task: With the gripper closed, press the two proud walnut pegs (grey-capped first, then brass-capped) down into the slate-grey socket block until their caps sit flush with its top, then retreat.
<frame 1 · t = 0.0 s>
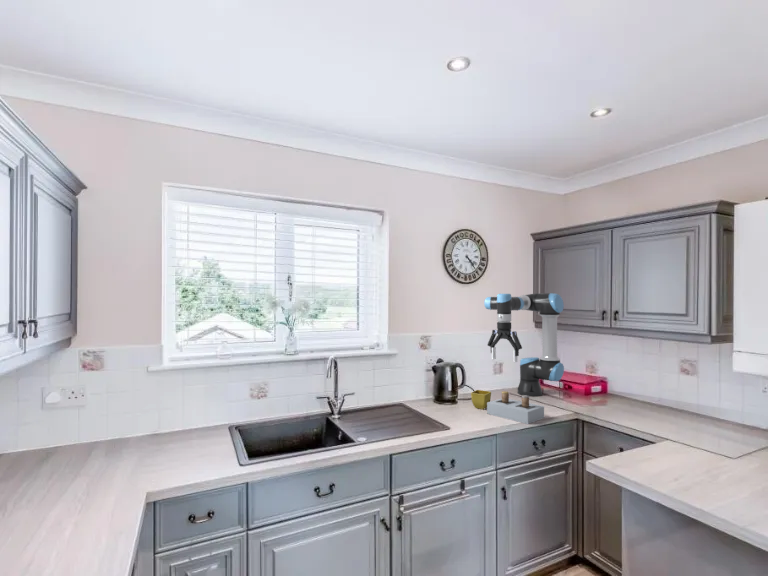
hand: (504, 360, 231), 28 cm above the counter, fingers open, 13 cm apart
socket block: (515, 415, 224), on the counter
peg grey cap: (525, 402, 219), point 8 cm above the counter, slide at 5.0 cm
peg brass cap: (505, 397, 228), point 8 cm above the counter, slide at 5.0 cm
flower pot: (481, 408, 239), on the counter
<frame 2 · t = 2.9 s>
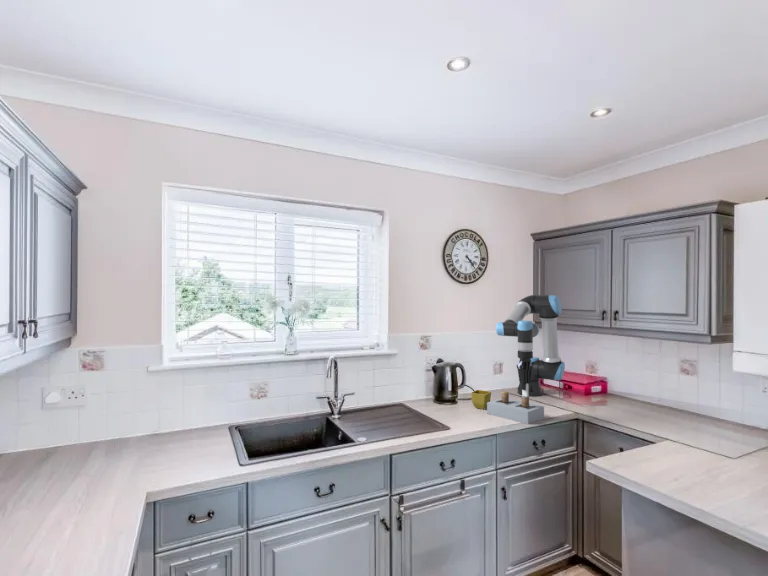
hand: (525, 395, 219), 12 cm above the counter, fingers closed
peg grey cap: (525, 402, 219), point 8 cm above the counter, slide at 4.8 cm, touching gripper
everything else where it was.
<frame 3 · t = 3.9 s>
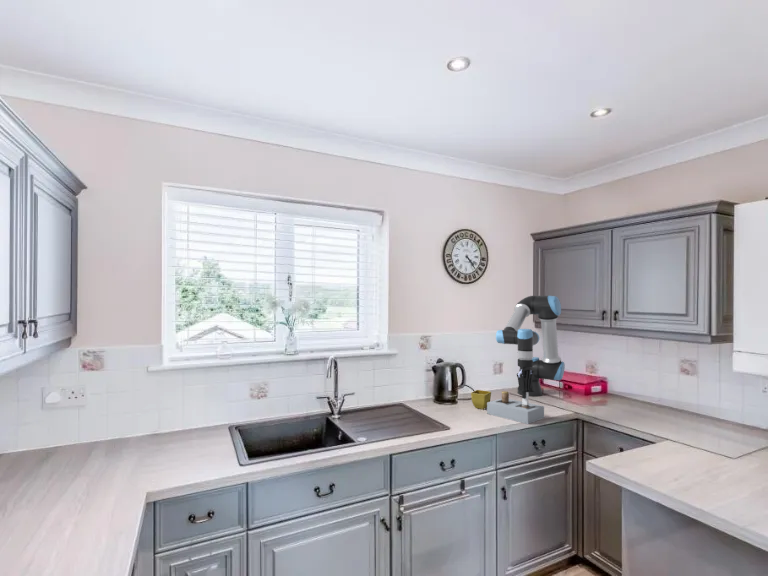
hand: (525, 404, 219), 7 cm above the counter, fingers closed
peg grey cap: (525, 411, 219), point 4 cm above the counter, slide at 0.5 cm, touching gripper
everything else where it was.
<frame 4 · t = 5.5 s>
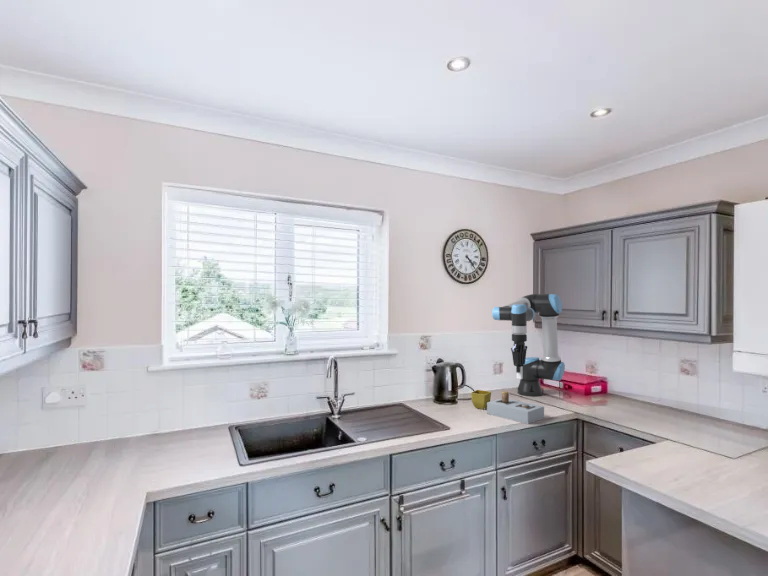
hand: (519, 378, 222), 20 cm above the counter, fingers closed
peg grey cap: (525, 411, 219), point 4 cm above the counter, slide at 0.4 cm
everything else where it was.
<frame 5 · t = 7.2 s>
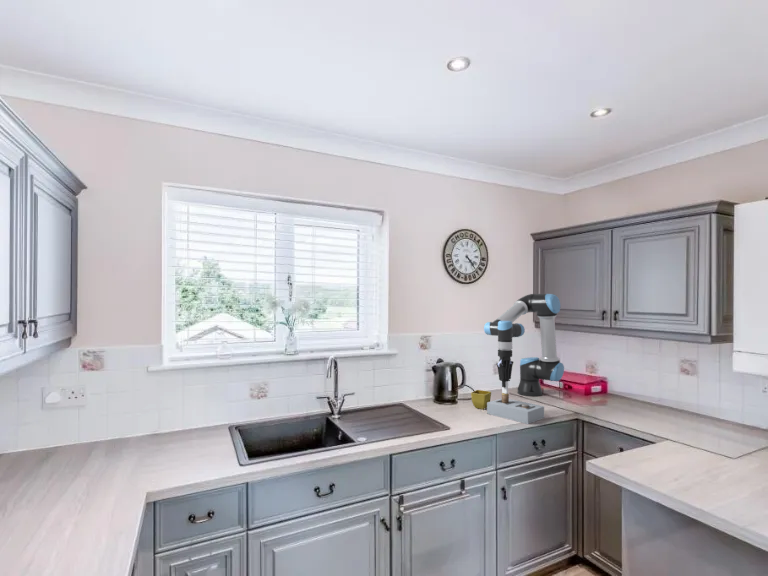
hand: (505, 393, 228), 11 cm above the counter, fingers closed
peg brass cap: (505, 399, 228), point 7 cm above the counter, slide at 4.2 cm, touching gripper
everything else where it was.
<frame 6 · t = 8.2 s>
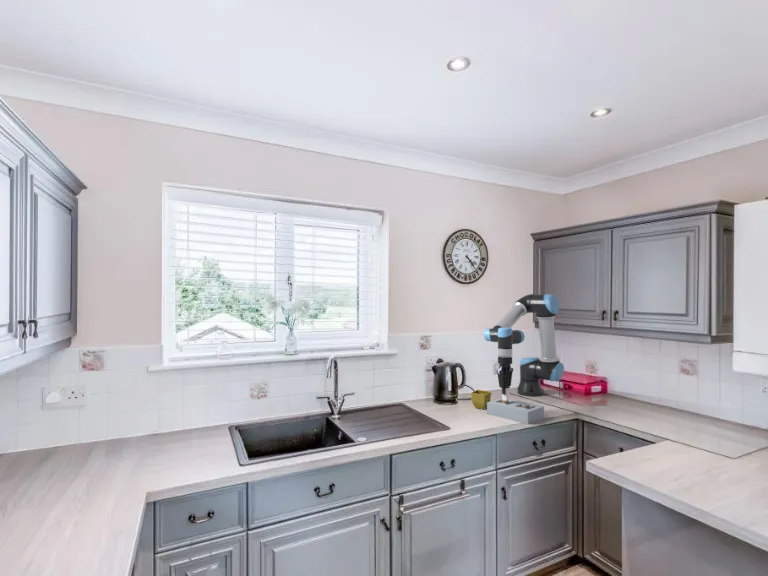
hand: (505, 400, 228), 7 cm above the counter, fingers closed
peg brass cap: (505, 406, 228), point 4 cm above the counter, slide at 0.4 cm, touching gripper
everything else where it was.
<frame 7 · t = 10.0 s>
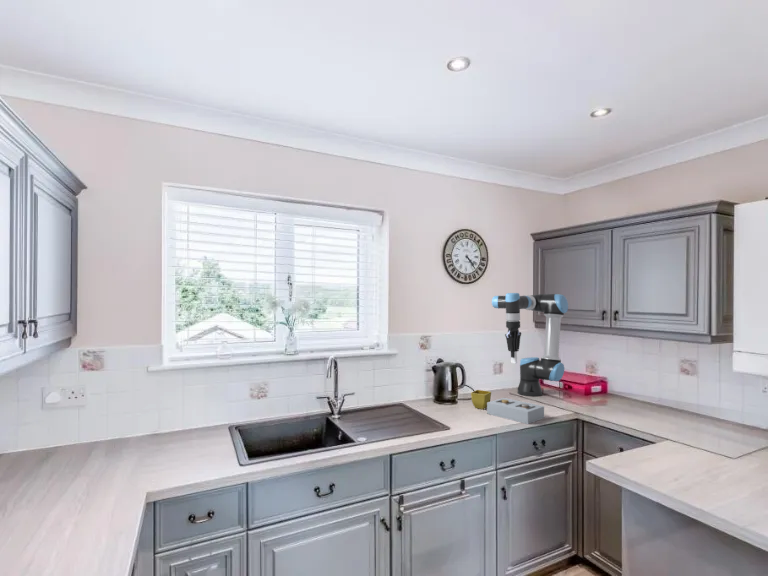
hand: (514, 363, 235), 26 cm above the counter, fingers closed
peg brass cap: (505, 406, 228), point 4 cm above the counter, slide at 0.4 cm
everything else where it was.
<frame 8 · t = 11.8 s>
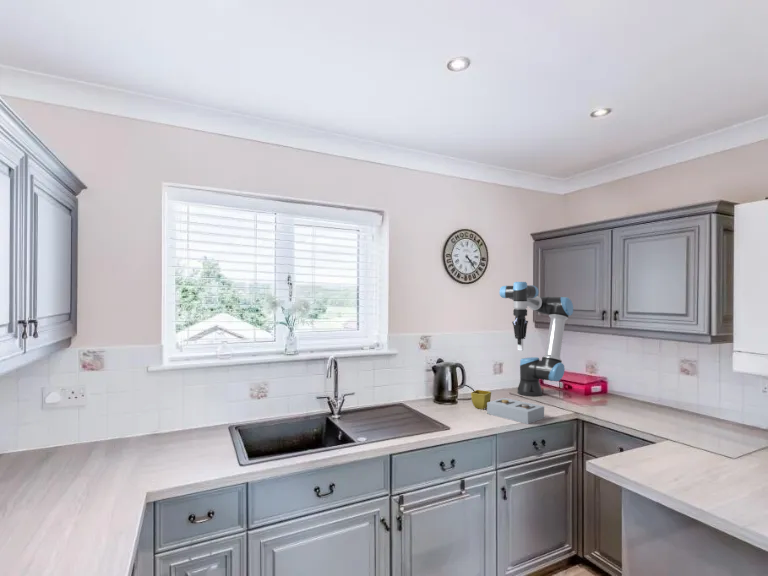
hand: (520, 350, 240), 32 cm above the counter, fingers closed
nothing on the counter moved.
at the end: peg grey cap slide at 0.4 cm; peg brass cap slide at 0.4 cm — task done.
